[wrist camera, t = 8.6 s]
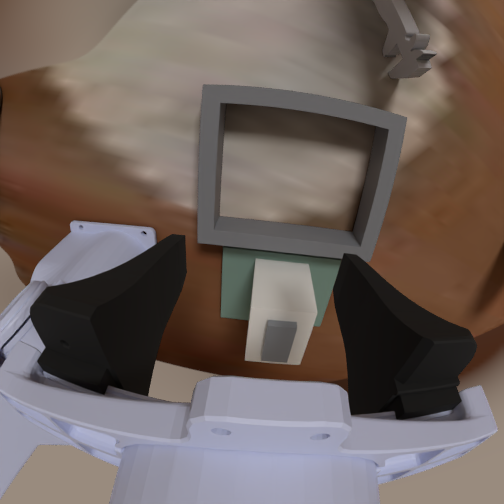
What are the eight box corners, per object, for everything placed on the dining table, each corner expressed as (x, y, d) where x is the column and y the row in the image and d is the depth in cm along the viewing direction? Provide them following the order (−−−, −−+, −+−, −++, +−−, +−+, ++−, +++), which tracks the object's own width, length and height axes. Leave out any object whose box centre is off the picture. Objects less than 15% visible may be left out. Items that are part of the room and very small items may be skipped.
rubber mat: (221, 312, 28) (220, 317, 27) (224, 243, 24) (223, 247, 23) (319, 322, 28) (319, 326, 27) (339, 256, 24) (341, 260, 23)
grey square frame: (204, 228, 23) (197, 242, 21) (211, 86, 17) (202, 84, 15) (361, 246, 23) (369, 261, 21) (392, 114, 17) (407, 117, 15)
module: (249, 310, 27) (244, 366, 21) (255, 258, 23) (250, 313, 18) (295, 315, 27) (299, 370, 21) (308, 263, 23) (318, 319, 18)
